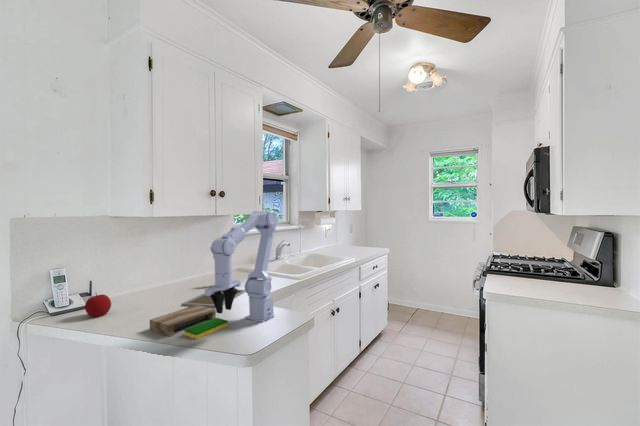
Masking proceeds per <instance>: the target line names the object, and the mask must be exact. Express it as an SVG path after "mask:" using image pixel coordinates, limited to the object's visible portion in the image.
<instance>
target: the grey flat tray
mask: <svg viewBox="0 0 640 426" xmlns="http://www.w3.org/2000/svg"><path fill="white" fill-rule="evenodd" d="M221 293H222V294H224V293H223V291H221ZM244 293H246V291H245V289H237V293H236V295H235V297H234V299H236V298H238V297H240V296H242V295H243V294H244ZM194 305H200V306H204V307H209V308H214V309H216V308H215V305H214V302H213V300H212V299H211V297H210V296H206V295H205V292H204V293H202V294H199V295H197V296H195V297H192V298H191V299H188V300H186V301H184V302H182V303H181V307H191V306H194ZM223 306H225V298H224V300H223Z"/></svg>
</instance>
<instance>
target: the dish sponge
mask: <svg viewBox="0 0 640 426" xmlns="http://www.w3.org/2000/svg"><path fill="white" fill-rule="evenodd" d="M228 326H229V321H228V319H223V318H219V317H216V318H214V319H208V320H206V321H204V322H202V323H198V324H196V325H193V326H190V327H187V328H185V329H183V330H184V332H183V333H184V335H183V336H185V335H186V337H188V336H190V337H189V338H191V337H192V339H194V338H195V339H194V340H198V339H201V338H203V337H205V335H206V336H208V335H210V334H213V333H215V332H217V331H219V330H220V331H221V329H224V328H227V327H228ZM202 336H203V337H202ZM200 337H201V338H200Z"/></svg>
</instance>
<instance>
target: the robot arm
mask: <svg viewBox="0 0 640 426" xmlns="http://www.w3.org/2000/svg"><path fill="white" fill-rule="evenodd" d="M277 223H278V217H277V214H276V213H275V211H274V210H253V211H251V213H250V214H249V217H248V218H247V219H246V220H245V221H244V222H243V223H242V224H241V225H239V226H232V227H231V228H230V230H229V231H228V232H227V233H225V234H222V237H220V238H215V240H214V241H213V242H212V243H211V247H210V251H211V254H212V256H213V257H212V259H214V284H213V285H212V286H211V287H208V288H206V289H204V293H205V295H206V296H210V297H211V299H212V300H213V302H214V305H215V308H214V309H216V313H217V314H219V315H220V314H223V309H224V307H225V310H228V311H231V310H232V307H233V302H234V300H235V298H234V297H235V295H236V293H237V290H238V287H241V280H233V272H232V271H233V267H232V266H233V265H232V264H233V263H232V261H233V260H232V255H233V254H234V253H235V251H236V247H238V245H239V244H240V243H241V242H243V240H244V239H246V234H247V233H248V232H250V231H251V230H252V229H253V228H255V229H256V230H257V232H259V233H260V240H259V243H258V249H257V254H256V258H255V263H254V270H253V271H252V272H250V273H249V274H248V276H247V280H246V282H245V283H244V290H245V293H246V294H247V296H248V302H249V303H248V304H249V305H248V307H249V308H248V309H249V315H247V316H244V319H247V320H251V321H255V322H260V323H264V322H265V321H268V320H270V319H271V318H274V317H275V316H276V315H275V314H274V300H273V298H272V297H270V296H269V295H270V292H271V291H272V277H271V276H270V275H269V273H268V268H269V262H270V258H271V253H272V247H273V242H274V236H275V232H276V229H277ZM221 291H223V293H224V294H222V293H221ZM224 298H225V304H224V305H223V300H224Z"/></svg>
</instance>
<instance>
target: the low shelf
mask: <svg viewBox="0 0 640 426" xmlns="http://www.w3.org/2000/svg"><path fill="white" fill-rule="evenodd" d="M216 313H217V312H216V308H209V307H204V306H200V305H194V306H187V307H186V308H182V309H177V310H176V311H173V312H172V311H171V312H170V313H166V314H164V315H160V316H158V317H154V318H152V319H149V331H151V332H155V333H158V334H160V335H164V336H168V337H171V336H174V335H175V330H179V329H180V328H183V327H186V326H188V325H191V324H193V323H196V322H199V321H201V320H204V319H205V318H207V319H208V320H211V319H214V318H217V317H216Z"/></svg>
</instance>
